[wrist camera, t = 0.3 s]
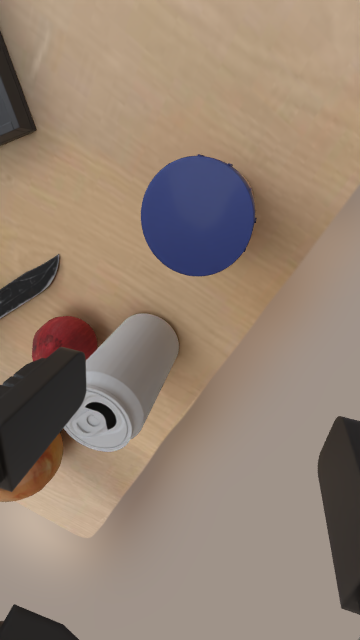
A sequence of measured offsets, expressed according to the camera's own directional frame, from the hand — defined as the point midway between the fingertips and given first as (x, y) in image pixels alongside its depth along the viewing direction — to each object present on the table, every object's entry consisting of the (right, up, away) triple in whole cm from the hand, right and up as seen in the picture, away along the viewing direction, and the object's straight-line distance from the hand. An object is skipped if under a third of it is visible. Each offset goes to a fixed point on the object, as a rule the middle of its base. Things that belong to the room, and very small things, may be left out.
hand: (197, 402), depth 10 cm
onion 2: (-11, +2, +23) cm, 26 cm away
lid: (0, +8, +6) cm, 10 cm away
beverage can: (-4, +1, +22) cm, 22 cm away
